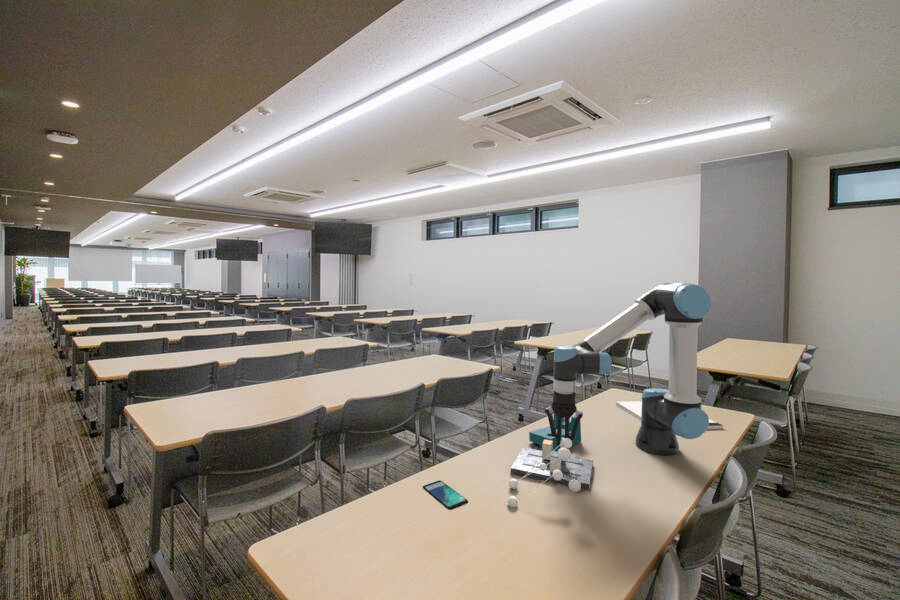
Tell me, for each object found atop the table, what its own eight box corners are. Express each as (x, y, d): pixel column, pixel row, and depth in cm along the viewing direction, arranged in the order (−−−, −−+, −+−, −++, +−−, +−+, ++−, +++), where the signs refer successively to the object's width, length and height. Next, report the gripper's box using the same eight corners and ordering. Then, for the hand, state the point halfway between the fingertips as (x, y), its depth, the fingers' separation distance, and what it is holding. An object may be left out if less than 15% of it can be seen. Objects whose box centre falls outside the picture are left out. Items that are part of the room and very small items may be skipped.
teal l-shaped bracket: (560, 435, 168) (559, 410, 168) (581, 442, 159) (580, 416, 159) (529, 444, 158) (528, 418, 158) (550, 452, 149) (549, 424, 149)
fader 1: (552, 455, 142) (552, 440, 141) (550, 460, 138) (551, 445, 138) (544, 453, 143) (544, 439, 143) (542, 458, 139) (542, 443, 139)
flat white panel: (722, 424, 176) (658, 426, 173) (722, 430, 177) (657, 432, 173) (670, 400, 211) (616, 401, 208) (670, 405, 211) (615, 406, 208)
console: (592, 465, 139) (593, 460, 139) (589, 490, 123) (589, 484, 123) (522, 452, 149) (522, 447, 149) (510, 473, 133) (510, 467, 133)
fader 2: (560, 468, 132) (561, 452, 132) (559, 473, 129) (559, 457, 128) (551, 466, 134) (552, 450, 133) (549, 471, 130) (550, 455, 130)
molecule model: (589, 509, 117) (599, 461, 111) (508, 516, 114) (513, 468, 108) (570, 472, 130) (578, 428, 124) (496, 478, 127) (500, 433, 121)
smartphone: (440, 479, 128) (469, 501, 115) (440, 481, 128) (469, 503, 115) (421, 485, 123) (449, 508, 111) (421, 488, 123) (449, 511, 111)
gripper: (585, 390, 138) (583, 456, 139) (547, 386, 143) (545, 449, 145) (582, 396, 131) (581, 465, 132) (543, 391, 136) (541, 458, 138)
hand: (562, 457), depth 139 cm, fingers closed
